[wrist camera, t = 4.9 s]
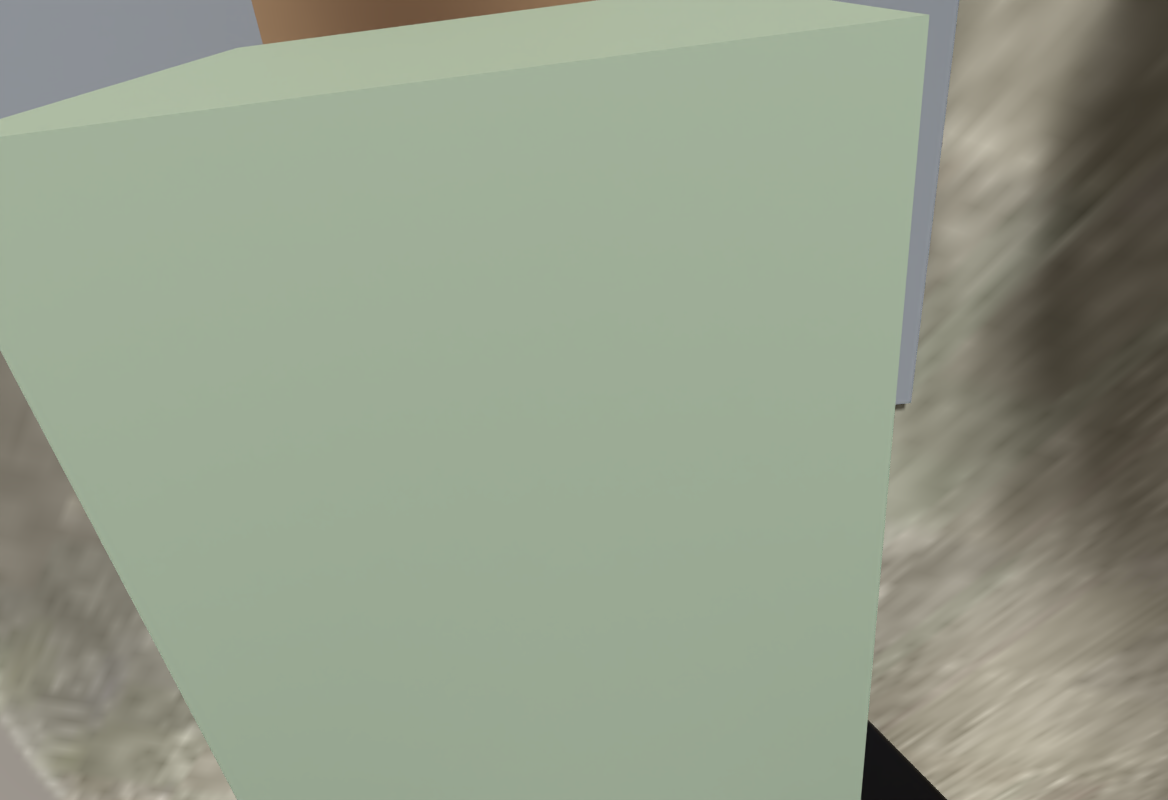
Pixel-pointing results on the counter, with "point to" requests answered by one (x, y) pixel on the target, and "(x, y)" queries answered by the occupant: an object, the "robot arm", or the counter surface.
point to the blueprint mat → (227, 21)
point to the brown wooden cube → (371, 14)
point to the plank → (490, 389)
